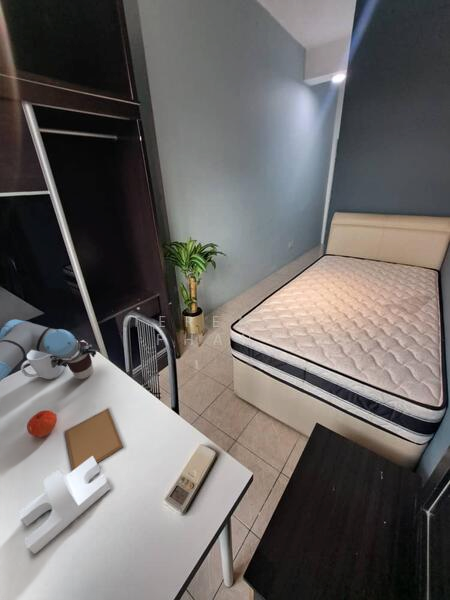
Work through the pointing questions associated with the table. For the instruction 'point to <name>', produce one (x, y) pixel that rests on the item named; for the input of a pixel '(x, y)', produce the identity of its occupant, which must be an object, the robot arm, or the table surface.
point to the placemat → (93, 439)
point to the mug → (41, 365)
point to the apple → (42, 423)
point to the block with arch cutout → (63, 501)
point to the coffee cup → (81, 365)
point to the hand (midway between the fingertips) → (79, 358)
